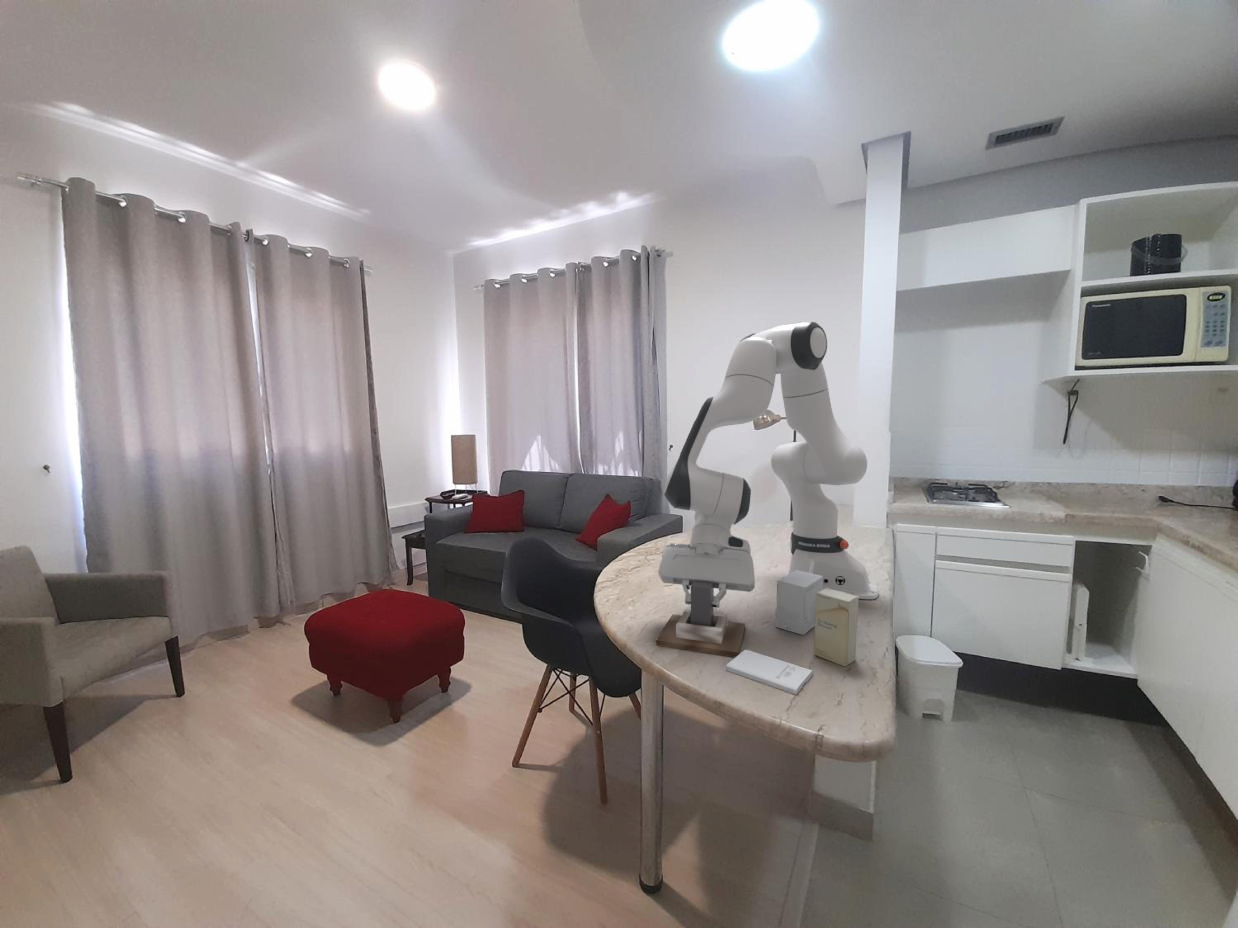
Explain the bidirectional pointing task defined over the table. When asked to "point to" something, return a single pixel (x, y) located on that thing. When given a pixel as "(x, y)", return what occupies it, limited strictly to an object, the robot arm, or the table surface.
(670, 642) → the socket board
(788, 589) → the skincare box
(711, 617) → the plug
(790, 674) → the external hard drive
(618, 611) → the table surface
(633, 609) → the table surface
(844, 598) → the skincare box
